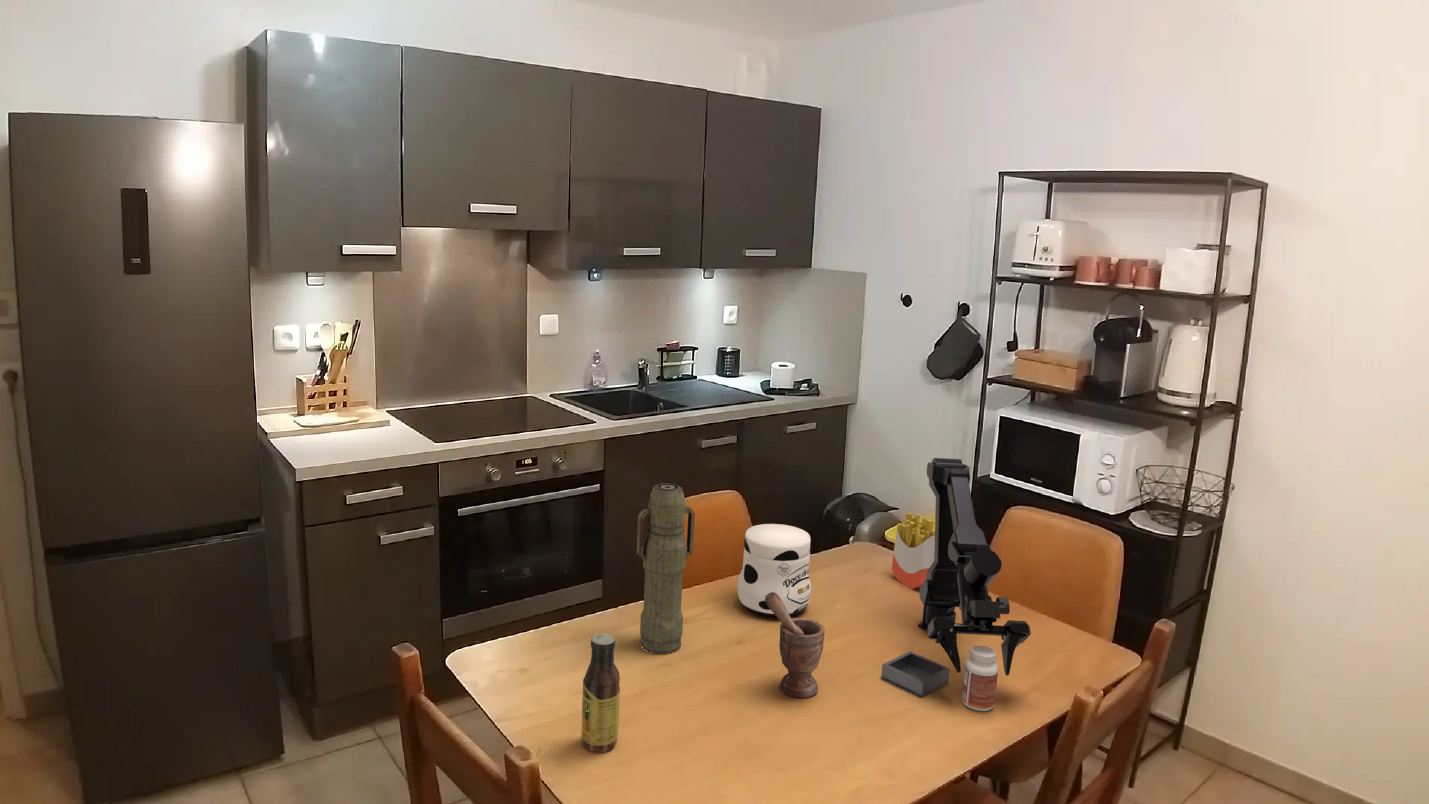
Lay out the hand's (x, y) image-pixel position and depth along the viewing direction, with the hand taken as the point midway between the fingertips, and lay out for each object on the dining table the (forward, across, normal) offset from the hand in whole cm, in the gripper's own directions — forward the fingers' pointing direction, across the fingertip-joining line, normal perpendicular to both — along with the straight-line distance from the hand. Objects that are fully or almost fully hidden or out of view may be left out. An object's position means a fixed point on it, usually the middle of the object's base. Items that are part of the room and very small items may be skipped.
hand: (983, 673), depth 172 cm
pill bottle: (+4, 0, +6) cm, 7 cm away
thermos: (-8, -63, +18) cm, 66 cm away
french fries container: (-37, -1, +48) cm, 61 cm away
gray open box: (-2, -10, +12) cm, 16 cm away
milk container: (-24, -38, +35) cm, 56 cm away
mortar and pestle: (+3, -36, +7) cm, 37 cm away
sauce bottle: (+19, -70, -9) cm, 73 cm away
